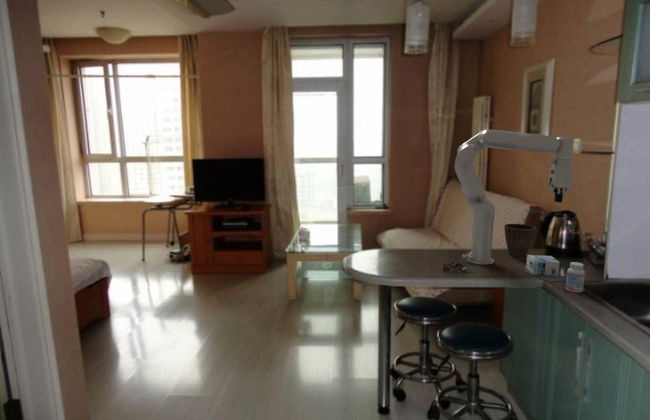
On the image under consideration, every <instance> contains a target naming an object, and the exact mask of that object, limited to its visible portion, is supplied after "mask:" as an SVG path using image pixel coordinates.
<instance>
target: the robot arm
mask: <svg viewBox="0 0 650 420" xmlns="http://www.w3.org/2000/svg"><path fill="white" fill-rule="evenodd" d="M487 148H492V149H499V150H510V151H530V152H531V151H532V152H540V153H547V154H548V153H549V154H550V153H553V158H552V161H551V163H550V164H551V166H550V171H549V175H548V182H547V183H548V190H550V191H552V192H553V193H554V200H553V201H554V203H563V196H564V195H565V192H566V191H569V190H570V189H571V188H572V187H573V185H574V169H573V166H572V158H573V151H574V150H573V149H574V138H573V137H572V136H557V137H556V136H553V135H543V134H534V133H533V134H531V133H525V132H520V131H507V130H501V129H499V130H498V129H483V130H481V131H479V132H478V133H477V134H476V135H474V136H472V137H471V138H470V139H468V140H467V141H465V142H464V143H462V144H461V145H460V146H459V147H458V148H457V150H456V151H457V154H456V156H455V160H454V171H455V173H456V177H457V178H458V181H459V183H460V184H461V191H462V195H463V196H464V198H465V201H466V203H467V204H468V206H469V208H470V210H471V212H472V213H473V219H472V231H471V247H470V248H471V249H470V251H469V252H468V253H466V254H465V253H464V254H462V255H461V259H467V261H468V262H469V263H471V264H475V265H481V266H482V265H484V266H487V265H488V266H489V265H493V264H494V263H495V260H494V259H493V258H492V248H493V247H492V246H493V245H492V244H493V234H494V232H493V231H494V230H493V229H494V222H495V217H496V216H495V215H496V209H495V208H496V207H495V205H494V203H493V202H492V201H491V200H489V199H488V197H487V195H486V193H485V189H484V185H483V183H482V181H480V180H481V179H480V178H479V176H478V174H477V173H476V170H475V168H474V161H475V159H476V158H477V156H478V154H480V153H482V152H483V151H484V150H486V149H487Z"/></svg>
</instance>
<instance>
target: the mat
mask: <svg viewBox="0 0 650 420" xmlns="http://www.w3.org/2000/svg"><path fill="white" fill-rule="evenodd" d="M522 271H523V272H525V273H527V274H530V275H532V276H534V277H536V278H539V279H542V281H543V280H544V281H546V282H547V283H550V282H561V281H563V282H564V281H565V282H566V279H567V277H565V276H562V275H560V274H558V276H551V275H533V274H532V273H531V272H530V271H529V270H528V269H523V270H522Z"/></svg>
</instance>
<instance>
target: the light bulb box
mask: <svg viewBox="0 0 650 420" xmlns="http://www.w3.org/2000/svg"><path fill="white" fill-rule="evenodd" d="M525 269H526V270H529V271H530V272H531V273H532V274H533V275H532V274H531V275H532V276H534V275H551V276H558V275H559V270H560V261H559V260H557V259H556V258H555V257H553V256H552V255H540V254H538V255H536V254H535V255H534V254H526V265H525Z"/></svg>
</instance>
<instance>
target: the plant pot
mask: <svg viewBox="0 0 650 420" xmlns="http://www.w3.org/2000/svg"><path fill="white" fill-rule="evenodd" d="M503 227H504V228H503V229H504V237H505V243H506V247H507V251H508V252H507V253H508V254H509V256H510V257H512V258H517V259H518V258H519V259H523V258H525V257H527V255H528V252H529V250H530V247H531V245H532V242H533V240H534V236H535V234H536V229H537V228H536V226H533V225H529V224H522V223H507V224H504V226H503Z"/></svg>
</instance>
